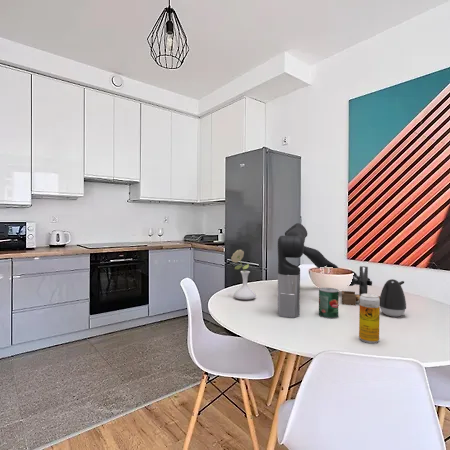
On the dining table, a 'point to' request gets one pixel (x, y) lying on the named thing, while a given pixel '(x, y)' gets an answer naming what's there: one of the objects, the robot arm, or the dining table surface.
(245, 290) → the flower in vase
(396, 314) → the pump dispenser
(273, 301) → the dining table surface
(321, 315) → the canned tomato
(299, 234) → the robot arm
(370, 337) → the beer can
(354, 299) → the socket
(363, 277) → the copper and grey mallet
